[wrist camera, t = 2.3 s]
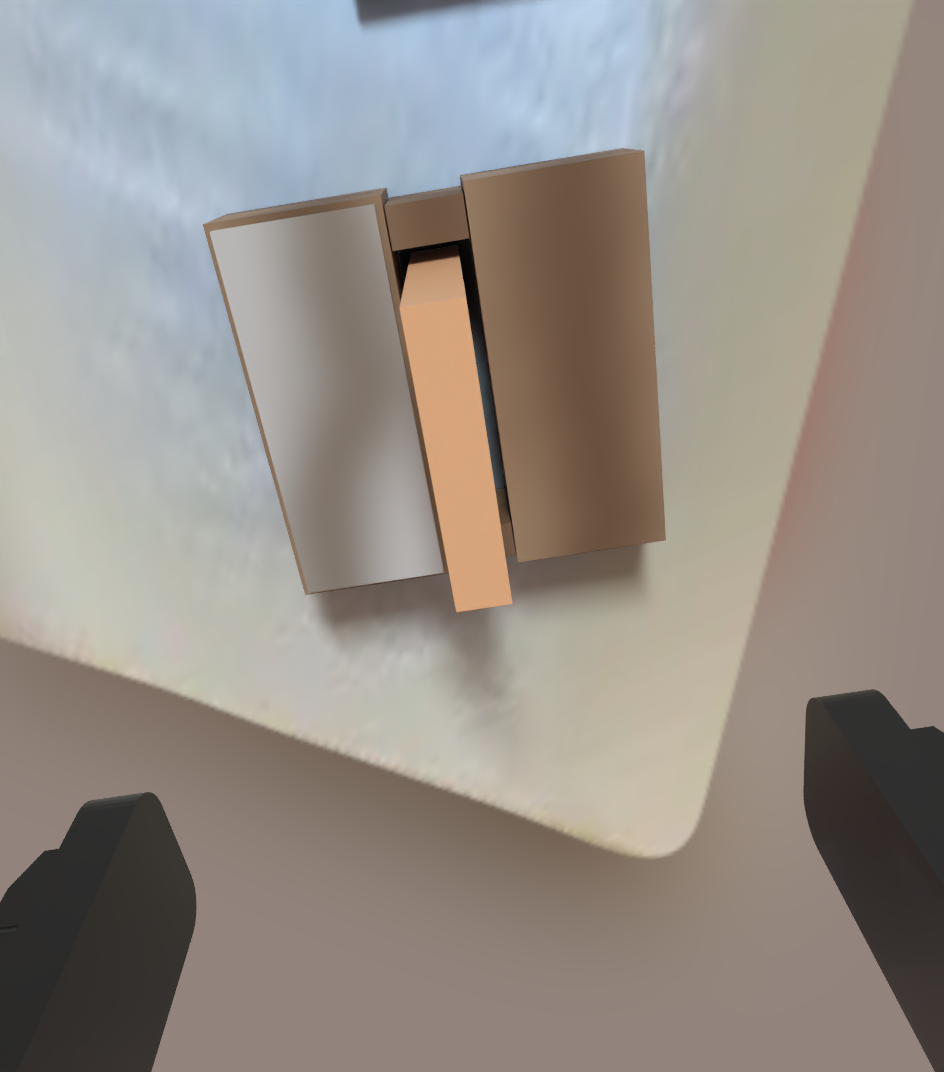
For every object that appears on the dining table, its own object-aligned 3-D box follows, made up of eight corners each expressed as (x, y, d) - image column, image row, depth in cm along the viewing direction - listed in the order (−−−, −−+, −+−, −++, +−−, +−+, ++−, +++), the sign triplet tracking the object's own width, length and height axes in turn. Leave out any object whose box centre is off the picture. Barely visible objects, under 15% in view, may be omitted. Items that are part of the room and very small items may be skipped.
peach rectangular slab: (451, 482, 30) (456, 612, 22) (411, 252, 27) (399, 307, 19) (492, 476, 30) (512, 603, 22) (457, 245, 27) (465, 296, 19)
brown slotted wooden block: (316, 554, 31) (304, 598, 28) (227, 214, 26) (200, 225, 23) (645, 504, 31) (667, 544, 28) (622, 148, 26) (646, 151, 23)
